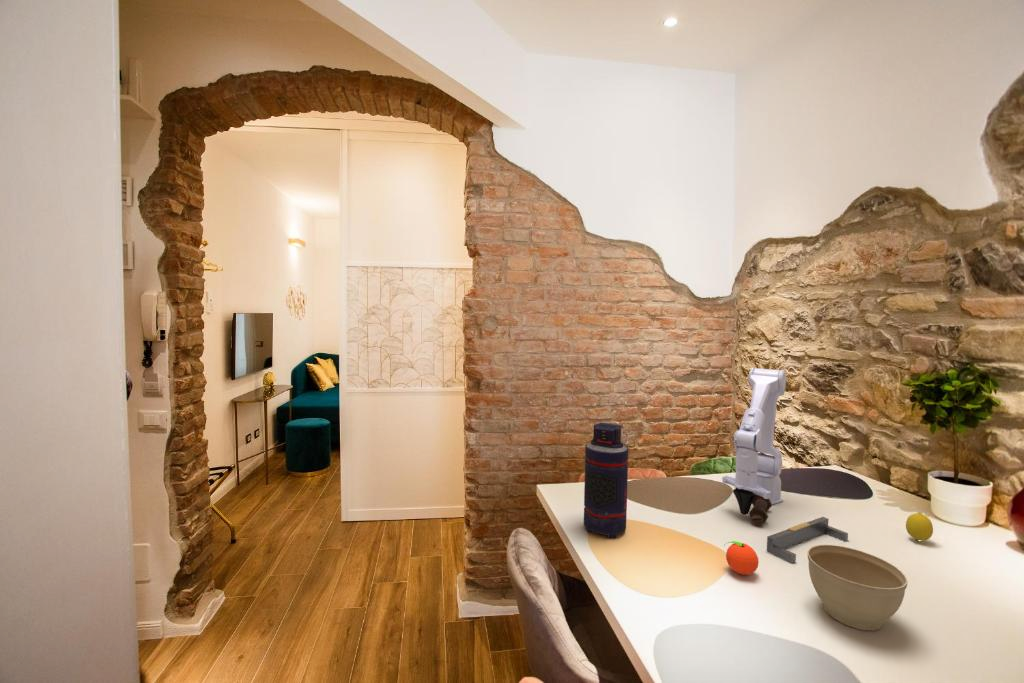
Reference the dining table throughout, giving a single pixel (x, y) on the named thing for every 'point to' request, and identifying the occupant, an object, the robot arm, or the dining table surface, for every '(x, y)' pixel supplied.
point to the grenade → (606, 481)
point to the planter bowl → (856, 585)
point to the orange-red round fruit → (742, 558)
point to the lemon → (919, 526)
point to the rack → (800, 537)
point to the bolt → (760, 510)
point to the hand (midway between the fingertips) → (744, 513)
